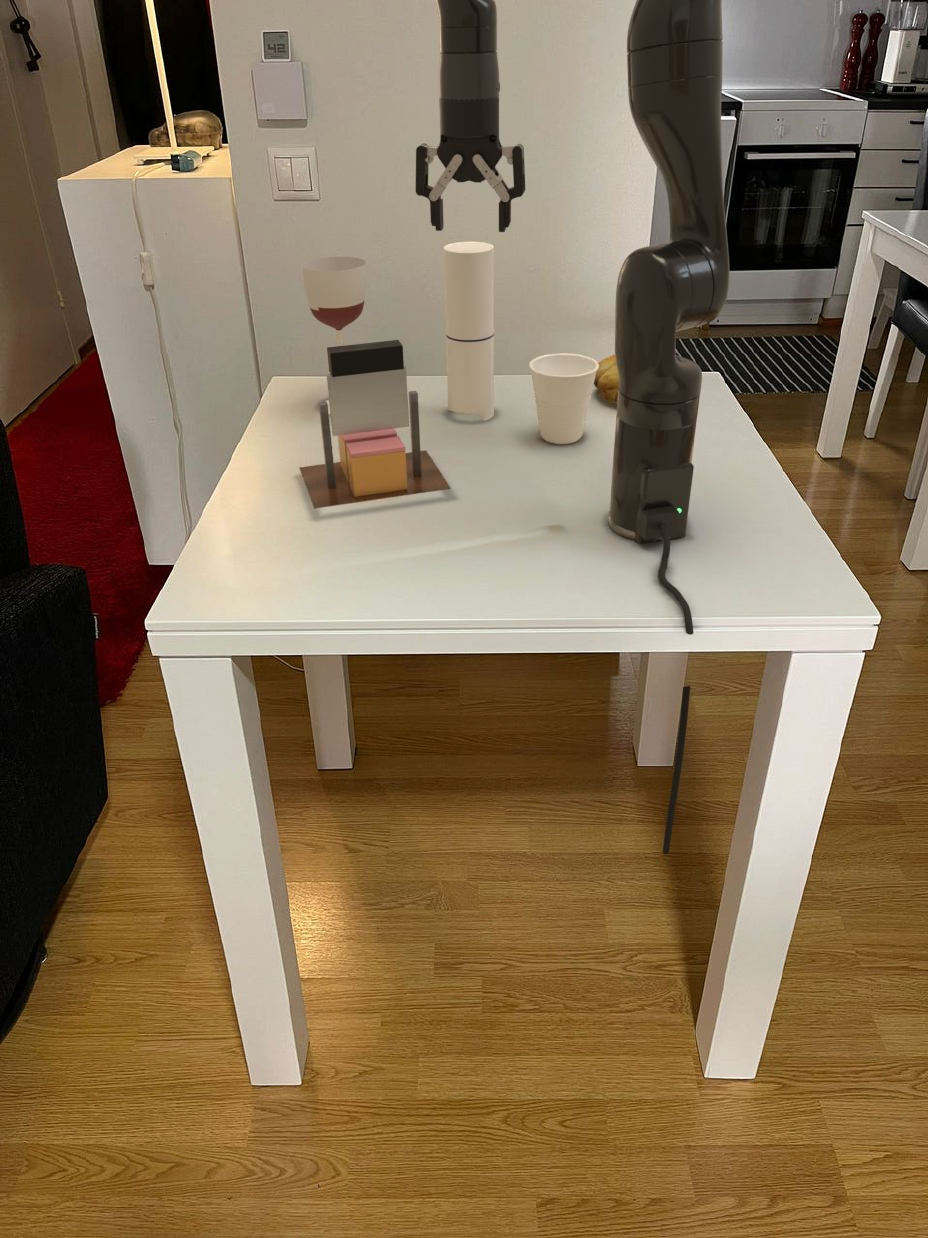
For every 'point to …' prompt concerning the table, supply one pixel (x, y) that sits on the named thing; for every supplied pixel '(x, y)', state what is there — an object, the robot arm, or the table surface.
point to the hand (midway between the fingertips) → (471, 230)
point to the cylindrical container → (470, 327)
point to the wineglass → (335, 291)
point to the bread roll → (607, 379)
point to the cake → (373, 461)
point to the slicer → (334, 488)
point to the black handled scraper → (367, 387)
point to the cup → (562, 394)
